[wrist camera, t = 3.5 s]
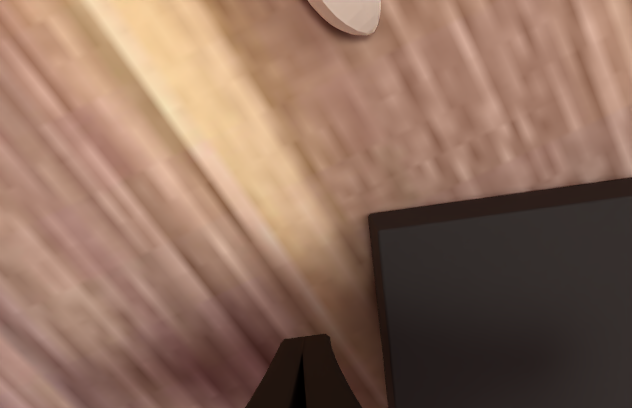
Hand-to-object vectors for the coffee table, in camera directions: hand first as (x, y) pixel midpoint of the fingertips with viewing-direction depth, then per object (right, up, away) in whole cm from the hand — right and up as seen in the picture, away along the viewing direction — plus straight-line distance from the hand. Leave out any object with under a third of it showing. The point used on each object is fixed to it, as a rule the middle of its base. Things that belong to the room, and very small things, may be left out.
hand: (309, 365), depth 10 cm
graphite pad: (+7, +1, +1) cm, 8 cm away
